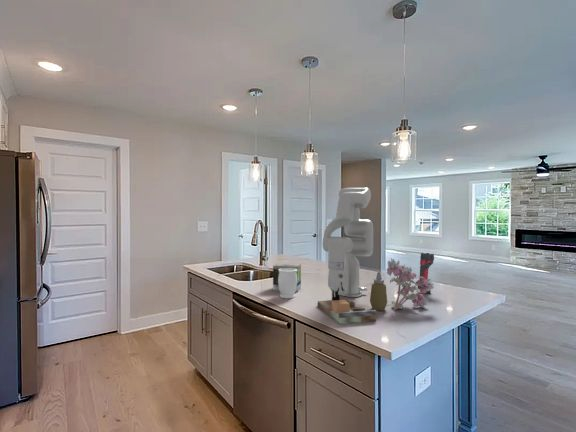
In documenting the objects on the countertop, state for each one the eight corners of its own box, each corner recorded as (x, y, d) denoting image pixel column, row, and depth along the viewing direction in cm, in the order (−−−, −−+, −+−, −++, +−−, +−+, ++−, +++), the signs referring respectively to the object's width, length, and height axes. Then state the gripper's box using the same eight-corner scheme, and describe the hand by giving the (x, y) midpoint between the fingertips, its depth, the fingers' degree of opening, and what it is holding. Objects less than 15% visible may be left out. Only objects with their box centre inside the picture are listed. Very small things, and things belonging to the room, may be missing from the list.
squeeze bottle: (374, 305, 162) (374, 269, 161) (389, 309, 156) (390, 271, 156) (366, 309, 155) (367, 271, 155) (382, 312, 150) (383, 274, 150)
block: (344, 308, 148) (344, 299, 148) (349, 312, 142) (349, 303, 142) (331, 309, 146) (331, 300, 146) (336, 313, 141) (336, 304, 140)
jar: (295, 300, 170) (295, 271, 170) (275, 298, 172) (276, 270, 172) (298, 294, 180) (298, 268, 180) (280, 293, 182) (280, 267, 182)
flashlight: (436, 294, 187) (437, 254, 186) (423, 294, 185) (424, 254, 185) (428, 290, 194) (429, 252, 194) (416, 291, 193) (417, 252, 193)
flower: (430, 317, 140) (438, 262, 149) (377, 304, 150) (388, 254, 159) (430, 323, 157) (437, 274, 165) (382, 312, 167) (391, 266, 175)
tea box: (301, 288, 196) (301, 264, 195) (297, 292, 186) (297, 266, 186) (277, 286, 199) (277, 262, 199) (272, 290, 190) (272, 265, 189)
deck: (349, 303, 164) (349, 295, 164) (376, 321, 139) (376, 310, 139) (317, 306, 159) (317, 297, 159) (339, 324, 134) (339, 313, 134)
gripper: (351, 267, 143) (350, 309, 143) (337, 262, 157) (336, 300, 157) (335, 268, 141) (334, 310, 141) (322, 263, 155) (322, 301, 155)
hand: (335, 305), depth 149 cm, fingers closed
